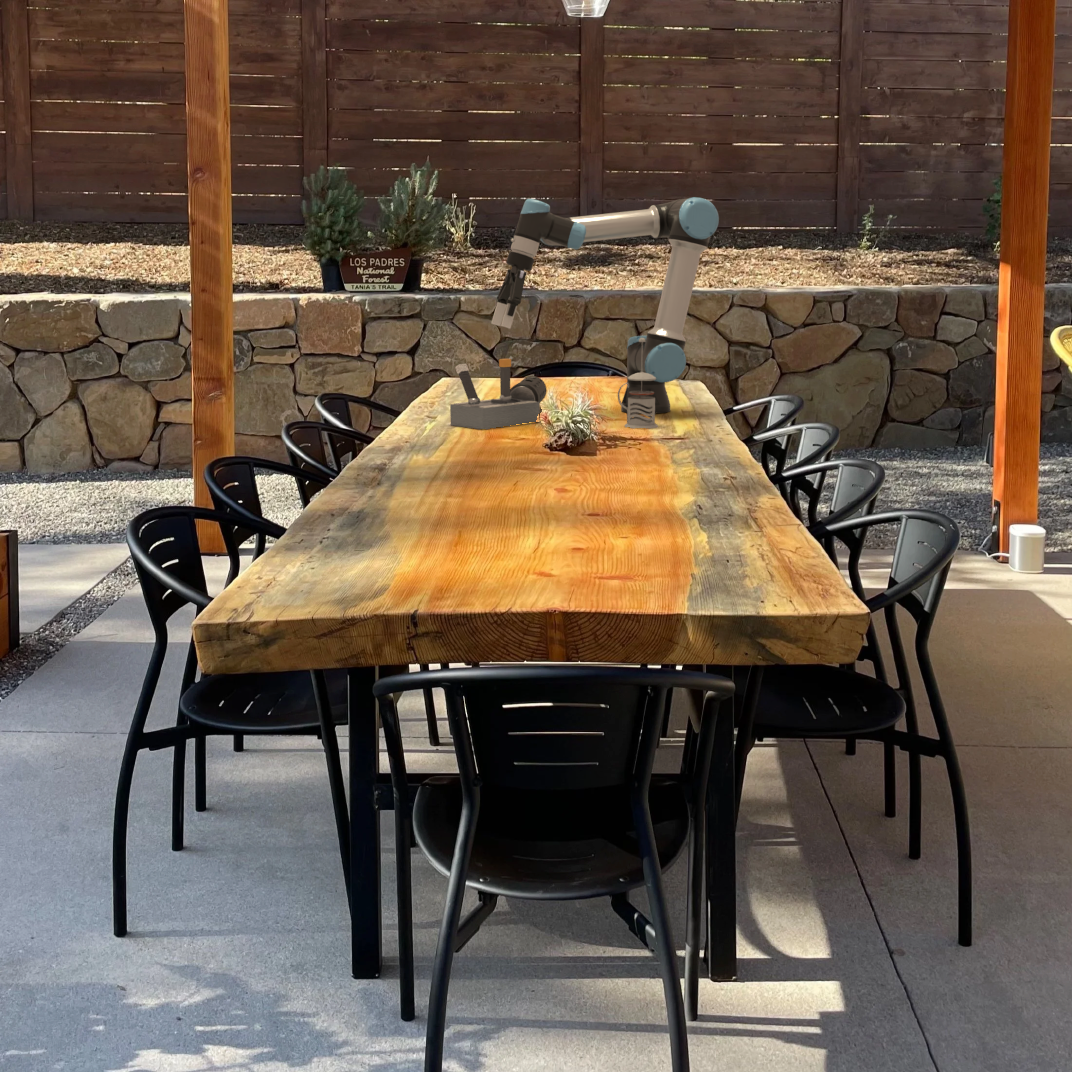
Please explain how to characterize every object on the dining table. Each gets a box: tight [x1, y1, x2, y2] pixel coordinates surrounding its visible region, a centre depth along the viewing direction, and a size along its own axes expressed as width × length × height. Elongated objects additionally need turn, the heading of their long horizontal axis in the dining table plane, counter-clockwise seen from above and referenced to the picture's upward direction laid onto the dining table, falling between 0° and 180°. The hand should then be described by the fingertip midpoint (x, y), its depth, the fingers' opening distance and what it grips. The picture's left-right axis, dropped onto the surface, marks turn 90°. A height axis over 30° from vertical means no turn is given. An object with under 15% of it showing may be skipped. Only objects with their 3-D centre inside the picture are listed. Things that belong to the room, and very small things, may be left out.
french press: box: [617, 338, 659, 430], centre depth 384 cm, size 10×12×25 cm
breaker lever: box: [498, 358, 512, 401], centre depth 393 cm, size 3×2×12 cm, turn 133°
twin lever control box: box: [449, 363, 541, 430], centre depth 391 cm, size 22×14×18 cm, turn 133°
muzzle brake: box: [510, 375, 548, 403], centre depth 418 cm, size 10×28×10 cm, turn 174°
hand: (500, 326), depth 390 cm, fingers open, 13 cm apart
